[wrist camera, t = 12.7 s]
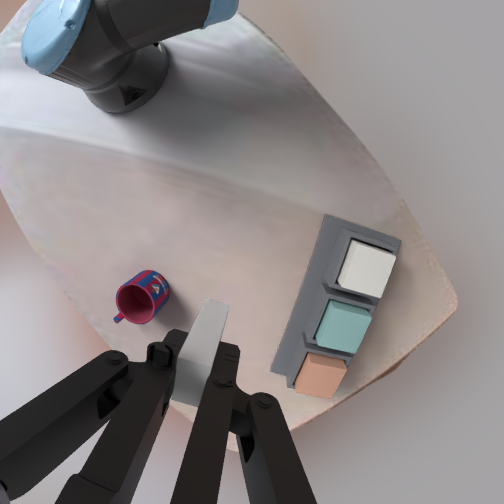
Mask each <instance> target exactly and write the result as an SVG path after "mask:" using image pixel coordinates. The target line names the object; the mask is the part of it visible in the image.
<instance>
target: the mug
mask: <svg viewBox="0 0 504 504" xmlns="http://www.w3.org/2000/svg"><path fill="white" fill-rule="evenodd" d="M168 298H169V286H168V284H167V282H166V280H165V279H164V277H163V276H162V275H160V274H159V273H157V272H155V271H151V270H146V271H142V272H140V273H139V274H138V275H136V276H135V277H133V278H132V279H131V280H129V281H128V282H126V283H125V284H124V285H122V286H121V287H120V288H119V290H118V291H117V294H116V304H117V307H118V310H119V311H120V313H119V314H118V315H117V316H115V317H114V321H115V322H116V323H119V322H120V321H121V320H122V319H124V318H125V319H127V320H128V321H130V322H132V323H135V324H145V323H147V322H149V321H150V320H151V319H152V318H153V317H154V316H155V315H156V314H157V312H158V311H159V310H160V309H161V308H162V306H163V305H164V304H165V303H166V302H167V300H168Z"/></svg>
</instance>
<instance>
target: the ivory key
mask: <svg viewBox="0 0 504 504" xmlns="http://www.w3.org/2000/svg"><path fill="white" fill-rule="evenodd" d="M395 260H396V256H394V255H393V254H391V253H389V252H388V251H386V250H384V249H383V248H380V247H377V246H374V245H371V244H368V243H365V242H362V241H359V240H356V239H353V238H351V239H350V242H349V245H348V248H347V251H346V253H345V256H344V259H343V262H342V265H341V268H340V270H339V273H338V276H337V281H338V282H339V284H340V285H341V287H343V288H346V289H350V290H353V291H357V292H360V293H364V294H367V295H371V296H375V297H378V298H381V296H382V293H383V291H384V288H385V286H386V283H387V281H388V278H389V276H390V273H391V270H392V268H393V265H394V262H395Z"/></svg>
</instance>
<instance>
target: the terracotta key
mask: <svg viewBox="0 0 504 504" xmlns="http://www.w3.org/2000/svg"><path fill="white" fill-rule="evenodd" d="M346 371H347V368H346V366H345V363H344V360H343V359H338V358H334V357H329V356H324V355H320V354H315V353H311V352H307V353H306V355H305V358H304V360H303V362H302V364H301V367H300V369H299V371H298V373H297V375H296V378H295V388H296V393H301V394H306V395H311V396H317V397H323V398H329V399H331V398H332V397H333V395H334V393H335V391H336V390H337V388H338V386H339V384H340V382H341V380H342V379H343V377H344V375H345V373H346Z"/></svg>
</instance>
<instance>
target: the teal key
mask: <svg viewBox="0 0 504 504" xmlns="http://www.w3.org/2000/svg"><path fill="white" fill-rule="evenodd" d="M371 319H372V317H371V315H370V314H369V313H368V311H367V310H366V308H364V307H360V306H356V305H352V304H348V303H345V302H341V301H337V300H334V299H330V298H329V300H328V302H327V305H326V307H325V310H324V312H323V315H322V317H321V320H320V322H319V325H318V327H317V330H316V332H315V337H316V340H317V344H318V346H322V347H327V348H331V349H336V350H341V351H345V352H350V353H356V351H357V349H358V347H359V345H360V343H361V341H362V339H363V337H364V335H365V332H366V330H367V328H368V326H369V324H370V322H371Z"/></svg>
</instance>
